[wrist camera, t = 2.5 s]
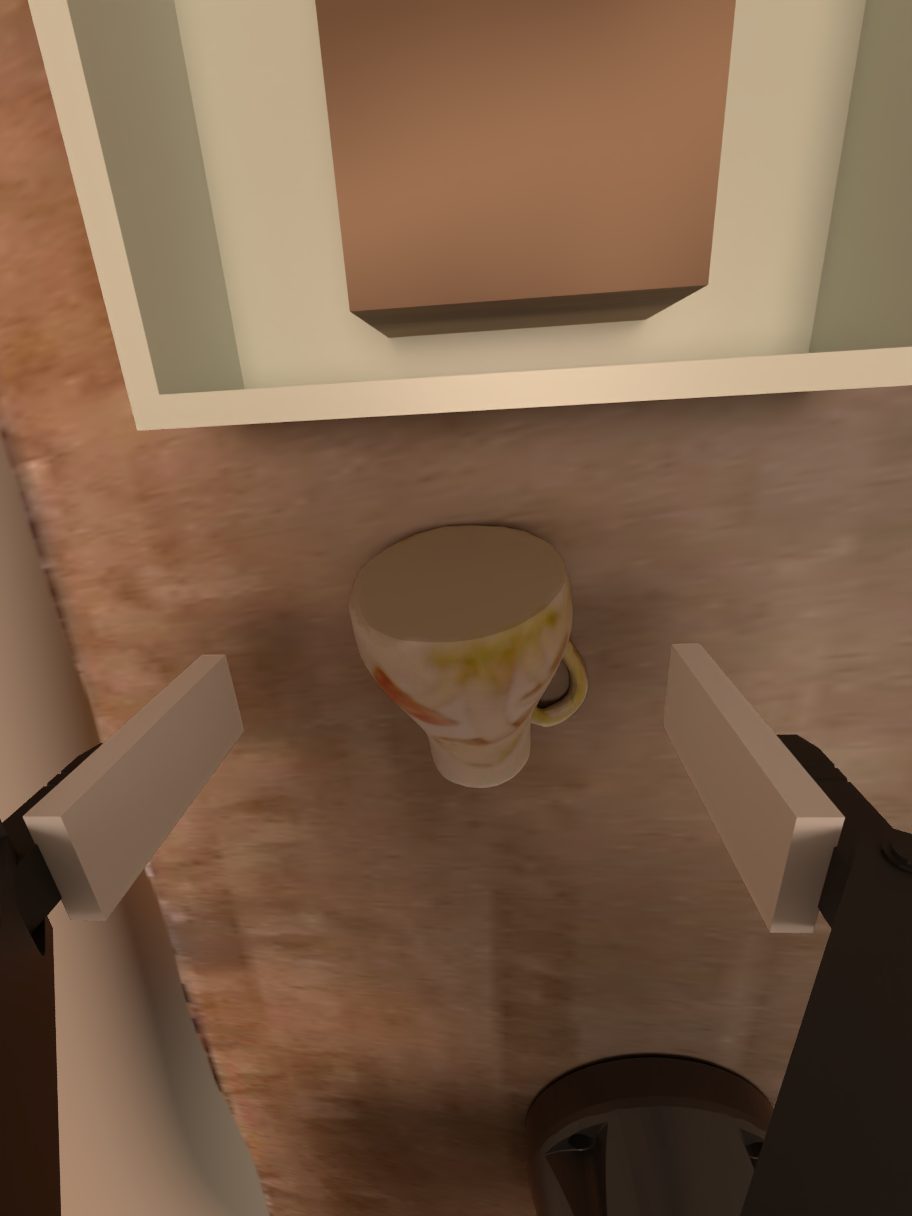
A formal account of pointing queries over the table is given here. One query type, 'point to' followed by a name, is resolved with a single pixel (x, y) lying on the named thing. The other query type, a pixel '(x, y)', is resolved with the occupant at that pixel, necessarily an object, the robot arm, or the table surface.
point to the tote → (486, 360)
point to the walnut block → (524, 157)
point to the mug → (470, 642)
